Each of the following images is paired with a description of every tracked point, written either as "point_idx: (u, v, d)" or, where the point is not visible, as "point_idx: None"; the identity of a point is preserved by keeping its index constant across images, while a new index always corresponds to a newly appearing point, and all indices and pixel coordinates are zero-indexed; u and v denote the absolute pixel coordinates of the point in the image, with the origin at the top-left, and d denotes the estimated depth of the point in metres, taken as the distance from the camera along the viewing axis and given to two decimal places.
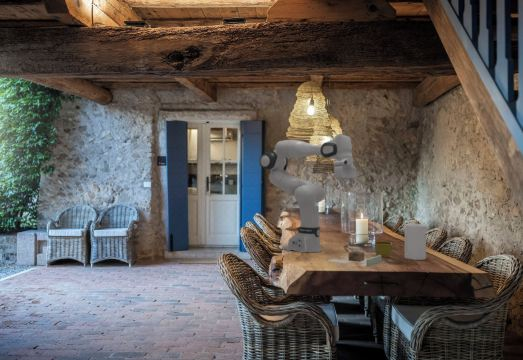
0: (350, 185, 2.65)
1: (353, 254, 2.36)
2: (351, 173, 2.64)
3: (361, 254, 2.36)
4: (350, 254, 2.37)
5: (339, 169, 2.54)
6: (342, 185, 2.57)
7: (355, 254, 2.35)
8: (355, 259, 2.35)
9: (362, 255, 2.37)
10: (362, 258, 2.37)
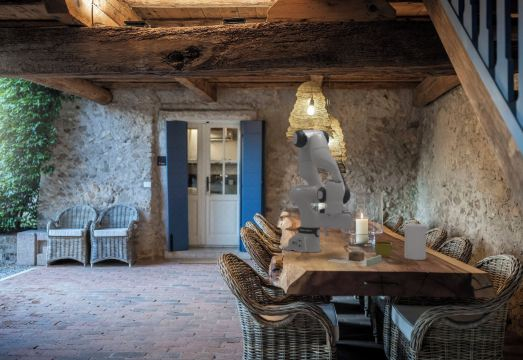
0: None
1: (353, 254, 2.36)
2: (339, 222, 2.42)
3: (361, 254, 2.36)
4: (350, 254, 2.37)
5: None
6: None
7: (355, 254, 2.35)
8: (355, 259, 2.35)
9: (362, 255, 2.37)
10: (362, 258, 2.37)
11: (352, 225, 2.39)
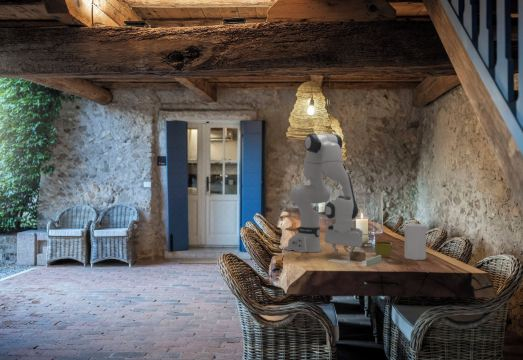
0: None
1: (354, 254, 2.36)
2: (347, 240, 2.39)
3: (362, 254, 2.36)
4: (351, 254, 2.37)
5: None
6: None
7: (356, 254, 2.35)
8: (356, 259, 2.35)
9: (363, 255, 2.37)
10: (363, 258, 2.37)
11: (361, 243, 2.36)
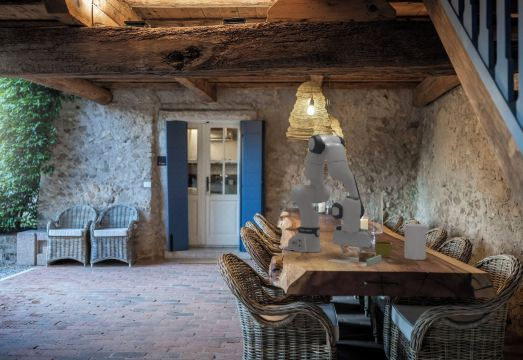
0: None
1: (363, 255, 2.33)
2: (356, 240, 2.36)
3: (371, 255, 2.33)
4: (360, 255, 2.34)
5: None
6: None
7: (366, 255, 2.32)
8: None
9: (372, 256, 2.34)
10: None
11: (369, 243, 2.34)
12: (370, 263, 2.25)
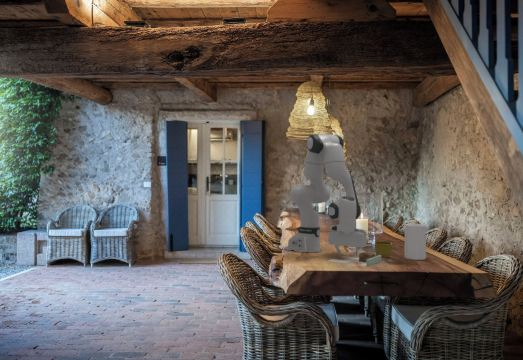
0: None
1: (364, 255, 2.33)
2: (351, 241, 2.38)
3: (372, 255, 2.33)
4: (361, 255, 2.34)
5: None
6: None
7: (366, 255, 2.32)
8: None
9: (373, 256, 2.34)
10: None
11: (365, 244, 2.35)
12: (370, 263, 2.25)
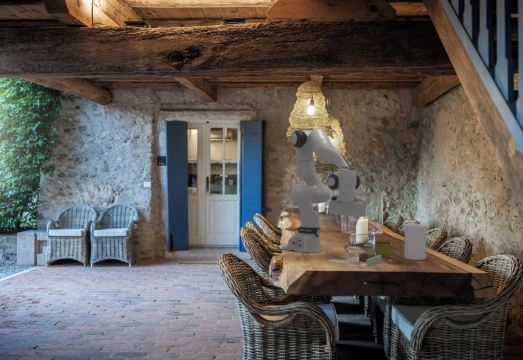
0: None
1: (364, 255, 2.33)
2: (351, 210, 2.39)
3: (372, 255, 2.33)
4: (361, 255, 2.34)
5: None
6: None
7: (366, 255, 2.32)
8: None
9: (373, 256, 2.34)
10: None
11: (364, 213, 2.36)
12: (370, 263, 2.25)
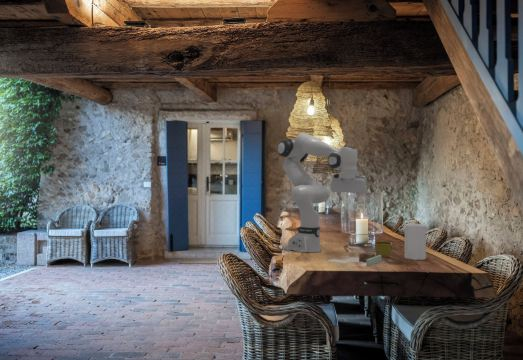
0: None
1: (364, 255, 2.33)
2: (352, 187, 2.50)
3: (372, 255, 2.33)
4: (361, 255, 2.34)
5: None
6: None
7: (366, 255, 2.32)
8: None
9: (373, 256, 2.34)
10: None
11: (365, 189, 2.47)
12: (370, 263, 2.25)
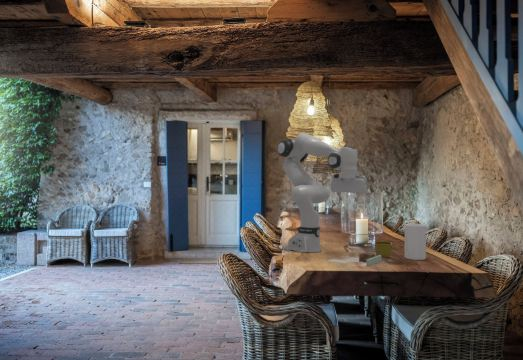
0: None
1: (364, 255, 2.33)
2: (352, 187, 2.50)
3: (372, 255, 2.33)
4: (361, 255, 2.34)
5: None
6: None
7: (366, 255, 2.32)
8: None
9: (373, 256, 2.34)
10: None
11: (365, 189, 2.47)
12: (370, 263, 2.25)
